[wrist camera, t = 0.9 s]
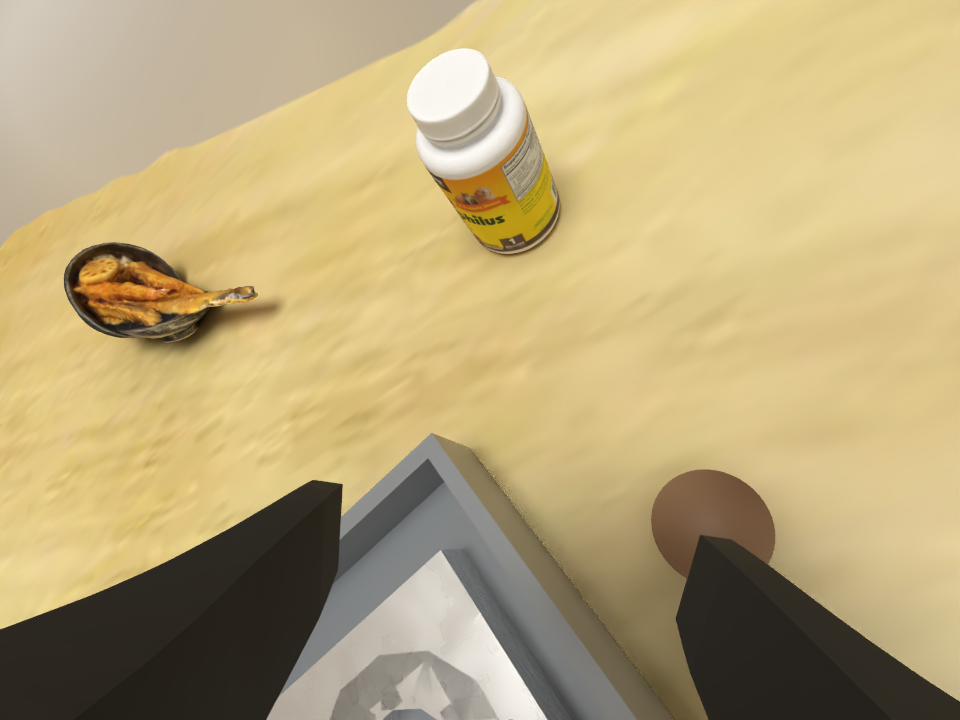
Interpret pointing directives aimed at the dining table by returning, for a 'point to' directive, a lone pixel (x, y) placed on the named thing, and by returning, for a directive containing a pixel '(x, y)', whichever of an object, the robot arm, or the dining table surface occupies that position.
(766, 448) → the dining table surface
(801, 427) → the dining table surface
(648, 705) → the open box
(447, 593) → the bored plate
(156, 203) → the dining table surface
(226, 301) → the fried shrimp in bowl
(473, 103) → the supplement bottle
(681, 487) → the peg
